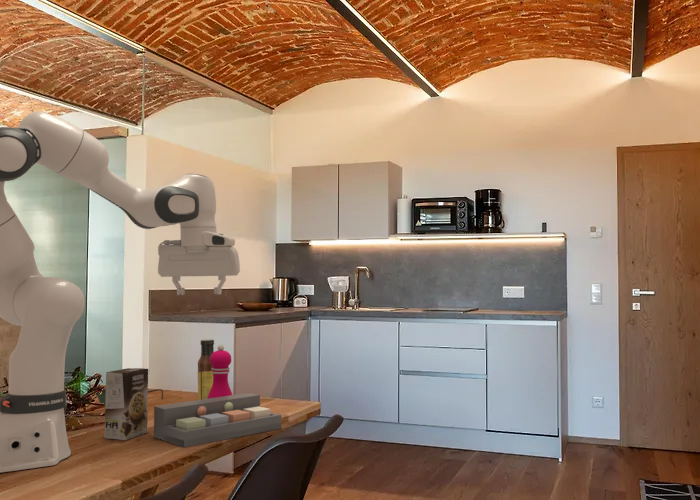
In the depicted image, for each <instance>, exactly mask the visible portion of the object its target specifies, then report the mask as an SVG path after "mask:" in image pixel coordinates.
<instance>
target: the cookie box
mask: <svg viewBox="0 0 700 500" xmlns="http://www.w3.org/2000/svg"><path fill="white" fill-rule="evenodd" d="M105 373H106V374H105V388H106V398H105V405H104V408H105V410H104V438H105V439H110V440H111V439H112V440H119V441H120V440H121V441H127V440H130V439H132V438H136V437H138V436H141V434H142V435H144V433H145V434H147V433H148V419H149V418H148V412H149V407H148V406H149V405H148V404H149V403H148V399H149V398H148V397H149V393H148V391H149V368H144V367H143V368H141V367H138V368H137V367H134V368H130V367H129V368H123V369H121V368H120V369H117V370H116V369H115V370H111V371H106V372H105Z"/></svg>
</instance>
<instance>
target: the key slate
mask: <svg viewBox="0 0 700 500" xmlns="http://www.w3.org/2000/svg"><path fill="white" fill-rule="evenodd" d="M200 418H201V419H204V420H206V426H208V427H209V426H214V425H220V424H226V423H228V416H226V415H222V414H218V413H215V414H209V415H203V416H200Z"/></svg>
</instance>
